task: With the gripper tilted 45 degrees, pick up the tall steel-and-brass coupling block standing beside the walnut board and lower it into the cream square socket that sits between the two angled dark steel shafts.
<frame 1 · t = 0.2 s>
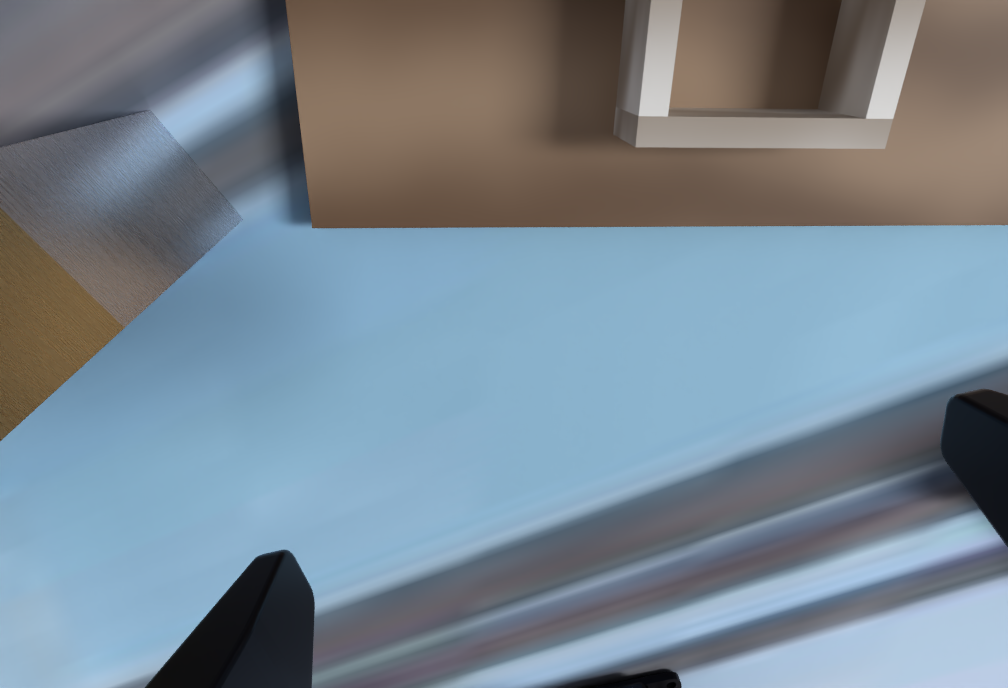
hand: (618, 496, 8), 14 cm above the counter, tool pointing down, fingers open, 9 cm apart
shaft board: (733, 6, 19), on the counter
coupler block: (150, 201, 20), on the counter
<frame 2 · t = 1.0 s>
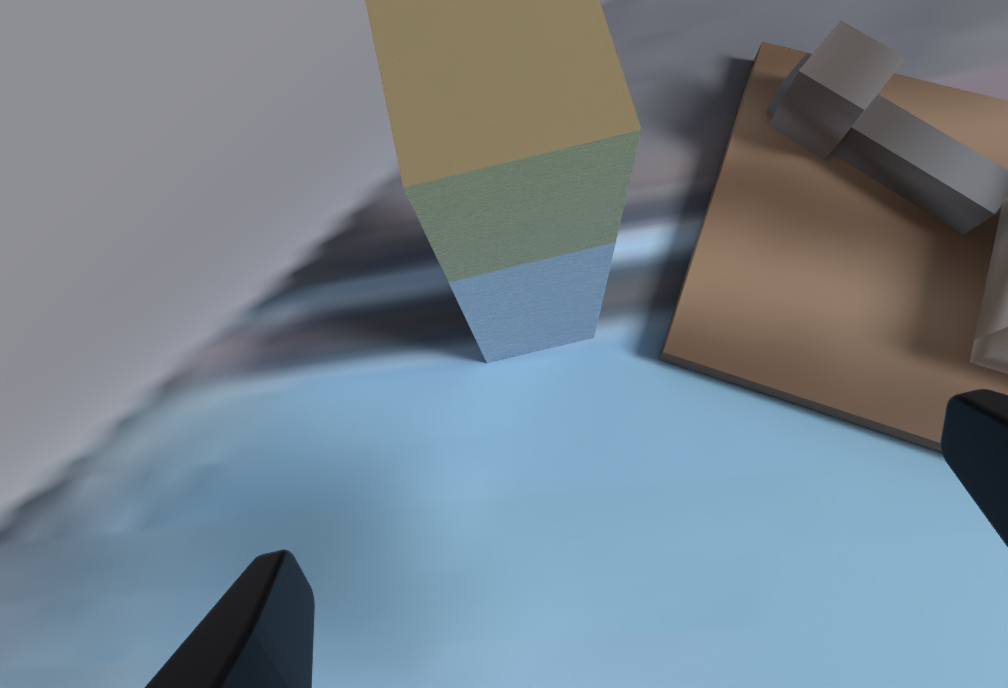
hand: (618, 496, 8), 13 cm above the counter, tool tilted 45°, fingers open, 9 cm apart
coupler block: (527, 299, 23), on the counter
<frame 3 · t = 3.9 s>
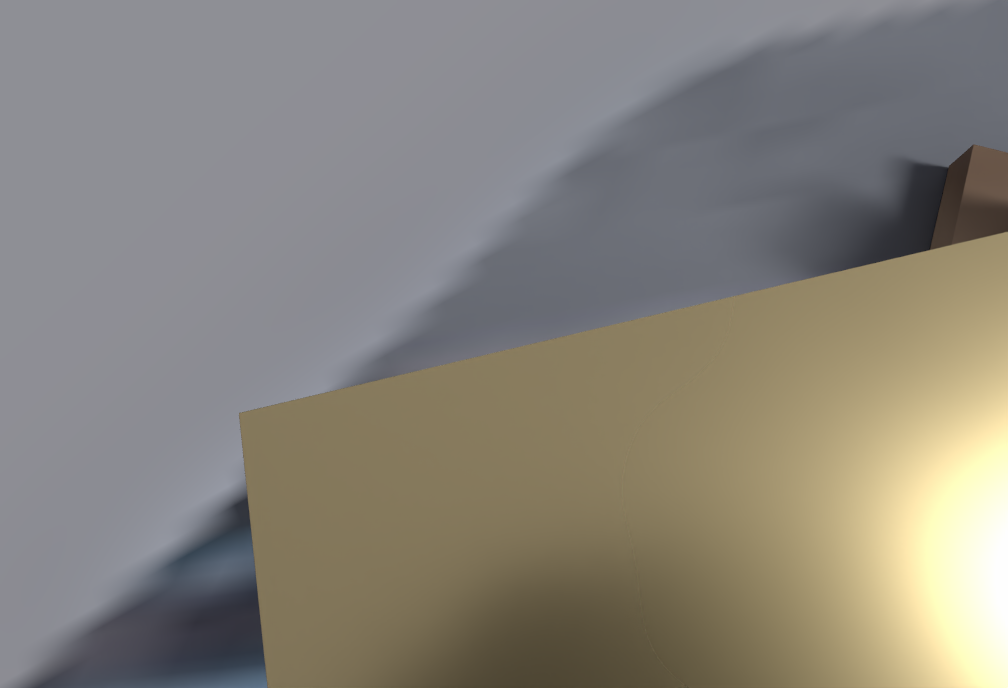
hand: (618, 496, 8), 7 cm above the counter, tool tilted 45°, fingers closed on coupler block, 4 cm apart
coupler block: (607, 564, 14), on the counter, touching gripper
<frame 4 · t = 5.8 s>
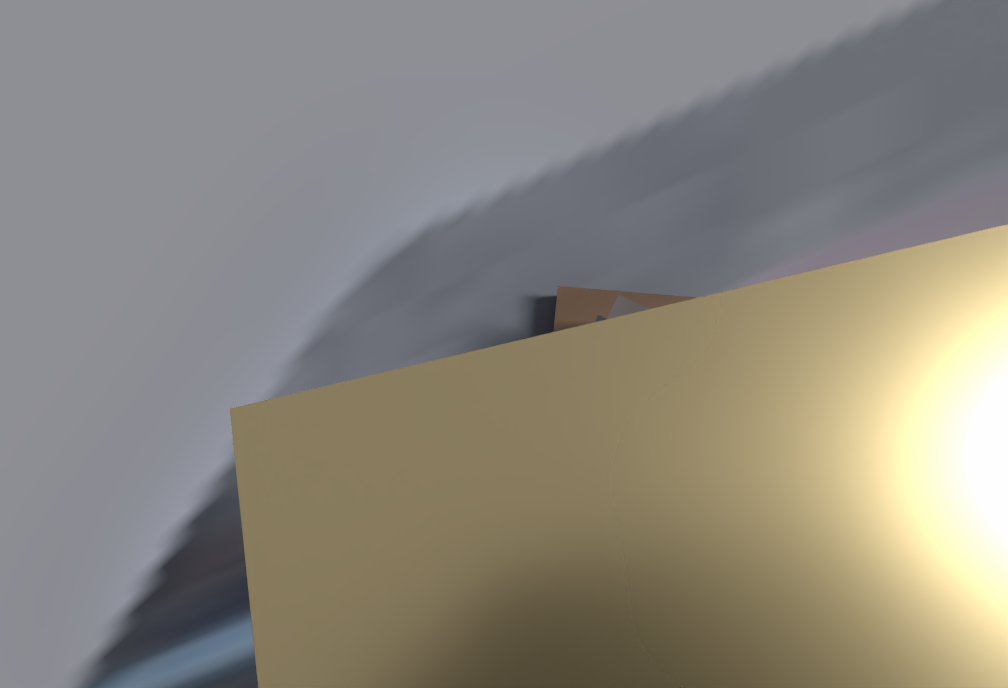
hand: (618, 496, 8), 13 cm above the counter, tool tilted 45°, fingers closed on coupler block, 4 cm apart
shaft board: (938, 517, 20), on the counter
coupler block: (605, 563, 14), point 7 cm above the counter, touching gripper
when the fingers open (9 cm above the counter, at t = 8.0 s): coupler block drops 1 cm, resting on shaft board.
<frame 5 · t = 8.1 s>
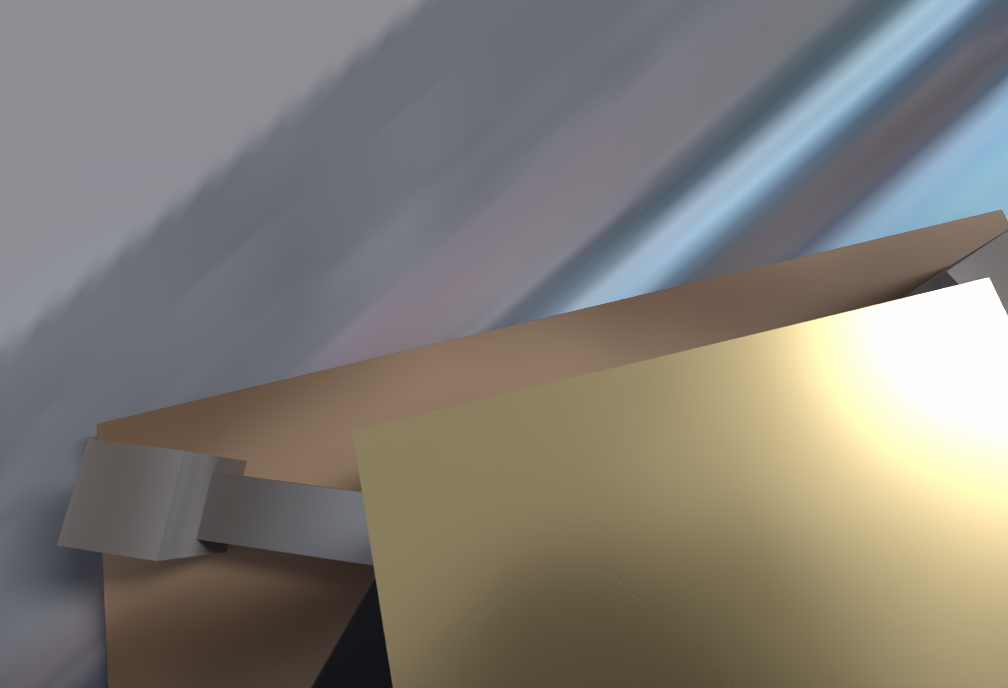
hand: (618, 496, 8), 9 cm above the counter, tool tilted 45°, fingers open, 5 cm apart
shaft board: (600, 554, 17), on the counter
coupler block: (603, 556, 16), point 1 cm above the counter, touching shaft board
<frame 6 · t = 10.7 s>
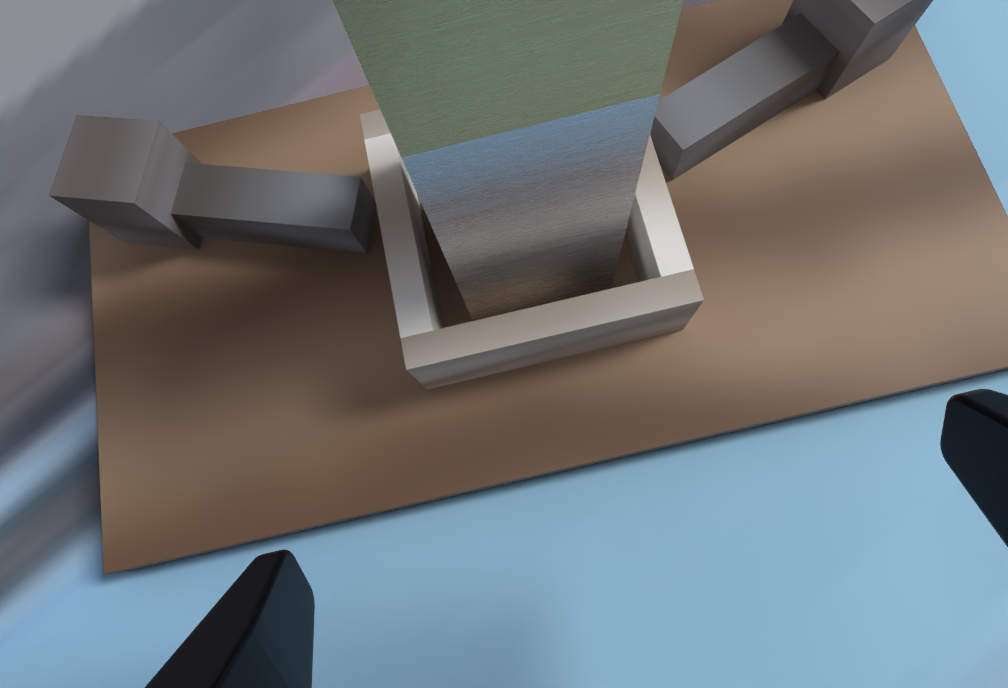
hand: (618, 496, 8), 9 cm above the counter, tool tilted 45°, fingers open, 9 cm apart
shaft board: (526, 255, 19), on the counter
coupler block: (525, 241, 18), point 1 cm above the counter, touching shaft board
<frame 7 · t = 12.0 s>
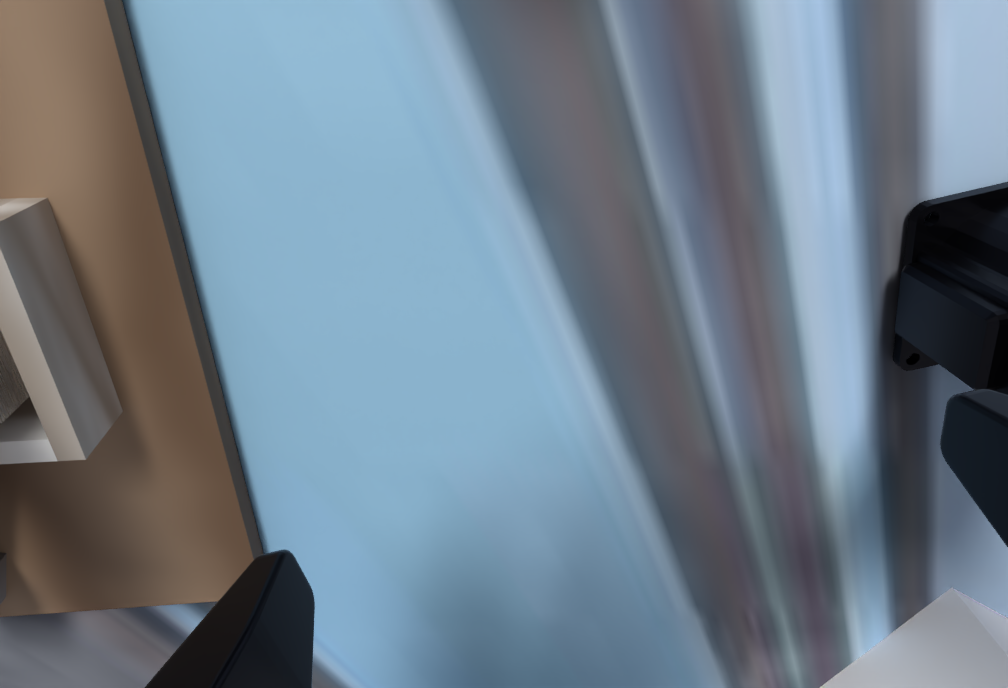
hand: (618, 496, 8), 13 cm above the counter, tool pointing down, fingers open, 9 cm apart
milk: (923, 683, 35), on the counter
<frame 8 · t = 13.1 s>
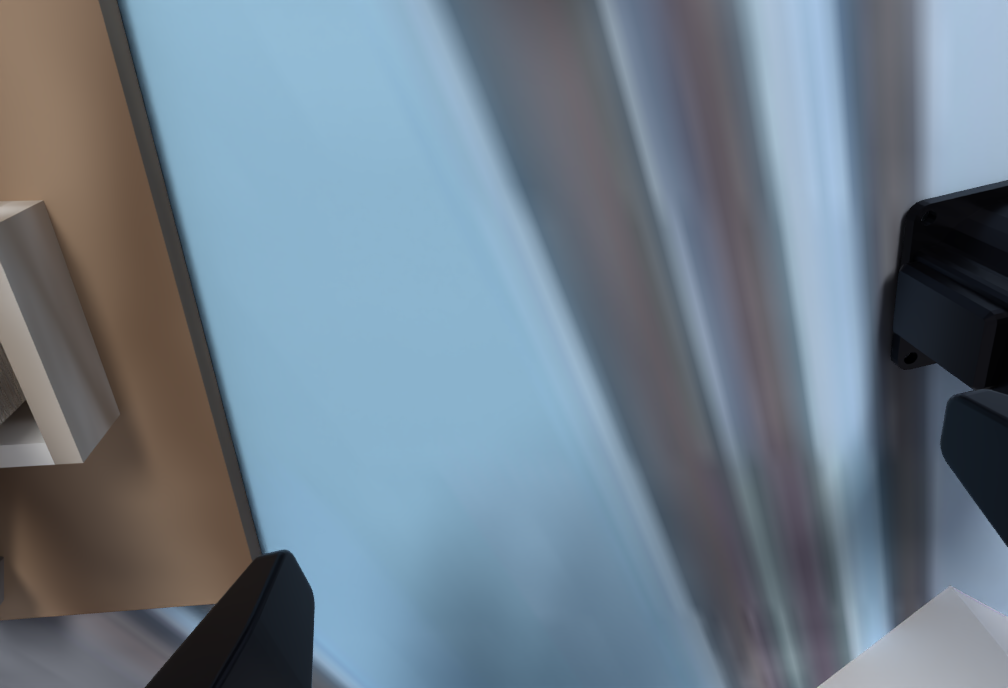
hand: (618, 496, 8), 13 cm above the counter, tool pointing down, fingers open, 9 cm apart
milk: (921, 681, 35), on the counter
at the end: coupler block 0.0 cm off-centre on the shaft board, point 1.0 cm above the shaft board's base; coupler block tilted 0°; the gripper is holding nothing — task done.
